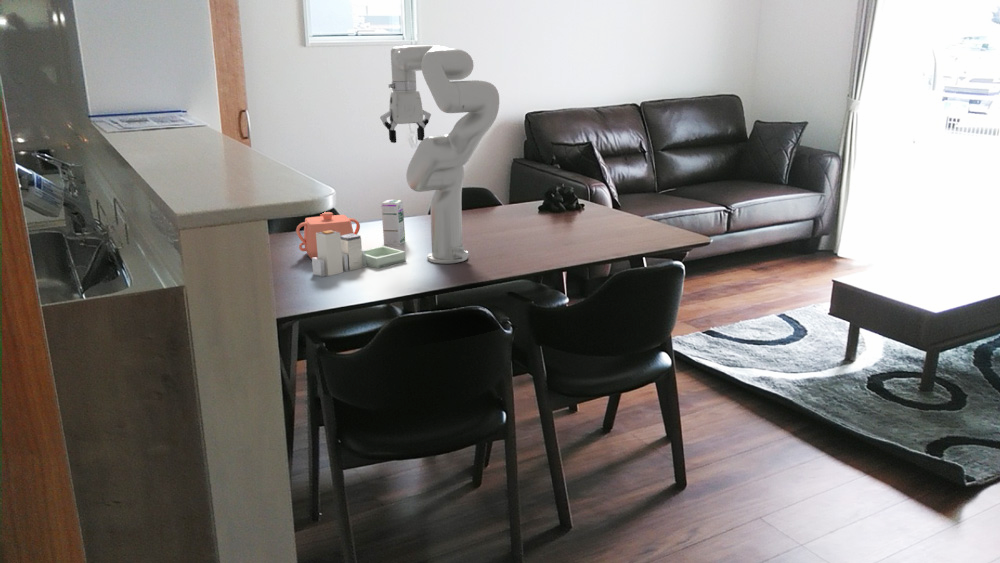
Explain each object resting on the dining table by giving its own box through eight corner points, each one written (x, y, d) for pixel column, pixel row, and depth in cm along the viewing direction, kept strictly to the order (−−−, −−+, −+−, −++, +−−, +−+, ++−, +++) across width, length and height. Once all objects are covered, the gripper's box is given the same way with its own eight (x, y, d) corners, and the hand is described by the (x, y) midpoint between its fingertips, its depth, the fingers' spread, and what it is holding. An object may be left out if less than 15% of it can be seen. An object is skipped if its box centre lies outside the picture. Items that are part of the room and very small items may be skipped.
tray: (405, 261, 246) (405, 251, 245) (377, 268, 238) (376, 258, 238) (384, 254, 253) (383, 245, 252) (355, 261, 246) (355, 252, 245)
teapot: (353, 243, 269) (351, 202, 265) (365, 256, 251) (363, 214, 247) (293, 249, 262) (289, 207, 258) (301, 263, 245) (297, 219, 241)
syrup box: (400, 245, 264) (398, 202, 260) (383, 245, 265) (380, 202, 261) (405, 241, 270) (403, 199, 265) (388, 241, 271) (386, 199, 267)
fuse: (342, 272, 235) (340, 231, 231) (328, 275, 231) (325, 234, 228) (333, 269, 238) (330, 228, 234) (319, 272, 235) (315, 231, 231)
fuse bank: (366, 266, 241) (364, 234, 238) (321, 277, 230) (319, 244, 227) (357, 263, 244) (355, 232, 241) (312, 274, 233) (310, 241, 230)
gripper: (383, 88, 245) (387, 144, 250) (434, 86, 254) (436, 140, 258) (374, 87, 251) (377, 142, 256) (423, 85, 260) (426, 138, 264)
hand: (407, 141), depth 257 cm, fingers open, 9 cm apart
